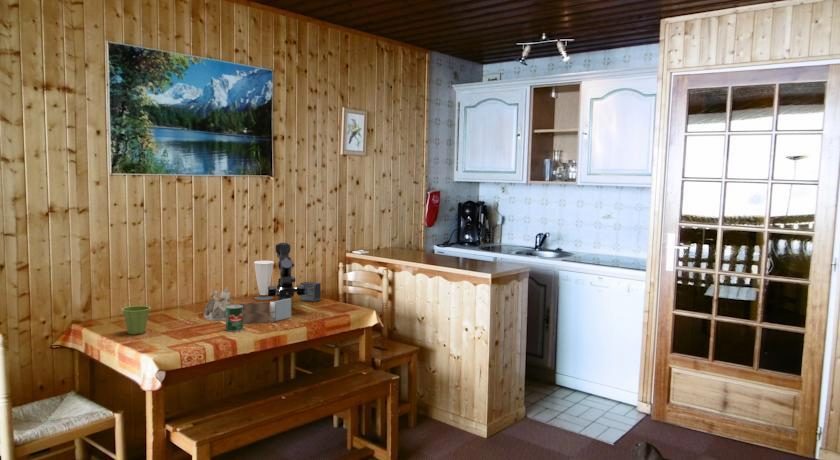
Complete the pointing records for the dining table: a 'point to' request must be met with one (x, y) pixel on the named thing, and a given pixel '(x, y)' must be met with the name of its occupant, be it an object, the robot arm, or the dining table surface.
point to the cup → (263, 278)
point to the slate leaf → (281, 309)
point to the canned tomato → (234, 317)
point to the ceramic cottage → (217, 306)
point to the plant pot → (136, 318)
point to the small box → (311, 292)
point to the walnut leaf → (257, 313)
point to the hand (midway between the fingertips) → (287, 304)
